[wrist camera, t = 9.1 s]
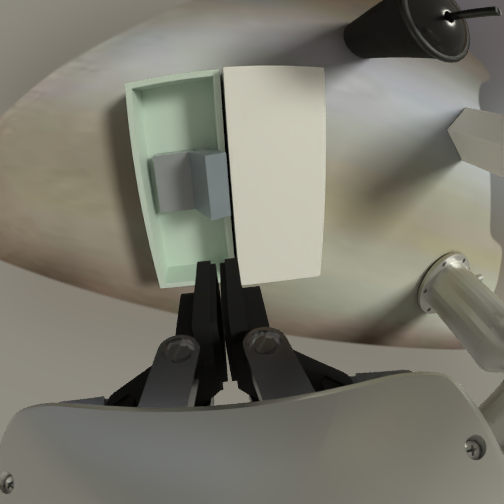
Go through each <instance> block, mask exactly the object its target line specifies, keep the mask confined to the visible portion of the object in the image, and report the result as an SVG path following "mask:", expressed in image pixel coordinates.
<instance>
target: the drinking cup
mask: <svg viewBox="0 0 504 504" xmlns="http://www.w3.org/2000/svg"><path fill="white" fill-rule="evenodd" d="M500 15H501V11H500V9H499V8H498V7H497V6H493V7H484V8H476V9H468V10H462V11H461V9H460V8H459V6H458V5H457V3H456V2H455V1H454V0H383V1H381V2H380V3H378V4H377V5H375V6H374V7H372V8H371V9H370V10H368V11H367V12H365V13H364V14H362V15H361V16H360V17H358V18H357V19H356V20H354V21H353V22H352V23H350V24H349V25H348V26H347V27H346V28H345V31H344V40H345V43H346V45H347V47H348V48H349V49H350V50H351V51H352V52H353V53H354V54H355V55H357V56H359V57H362V58H386V57H411V58H434V59H438V60H440V61H443V62H449V63H453V62H458V61H460V60H462V59H463V58H464V57H465V56H466V54H467V52H468V50H469V45H470V34H469V29H468V25H467V22H466V19H467V18H476V17H486V16H500Z"/></svg>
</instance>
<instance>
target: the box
mask: <svg viewBox="0 0 504 504" xmlns="http://www.w3.org/2000/svg"><path fill="white" fill-rule="evenodd" d="M125 91H126V103H127V113H128V123H129V131H130V139H131V147H132V154H133V161H134V167H135V173H136V179H137V185H138V191H139V196H140V202H141V207H142V212H143V217H144V222H145V226H146V231H147V236H148V240H149V245H150V249H151V253H152V257H153V261H154V265H155V269H156V273H157V277H158V281H159V285H160V288H169V287H180V286H190V285H195V279H196V268H197V262H199V261H209V260H210V261H211V264H214V263H216V269H217V276H218V283H220V263H223V262H225V259H229V258H234V248H233V237H232V226H231V216H227V217H224V218H220V219H216V220H213V221H211V220H210V219H208V218H207V217H206V216H204V215H203V214H201V213H200V212H199V211H197V210H196V209H191V210H182V211H173V212H164V213H161V211H160V205H159V198H158V192H157V185H156V178H155V170H154V163H153V156H154V155H155V154H157V153H164V152H172V151H180V150H188V149H194V151H197V150H203V149H212V150H217V151H222V152H225V141H224V128H223V114H222V100H221V85H220V69H216V70H205V71H196V72H188V73H181V74H174V75H168V76H162V77H156V78H151V79H146V80H141V81H136V82H132V83H127V84H125Z"/></svg>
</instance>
